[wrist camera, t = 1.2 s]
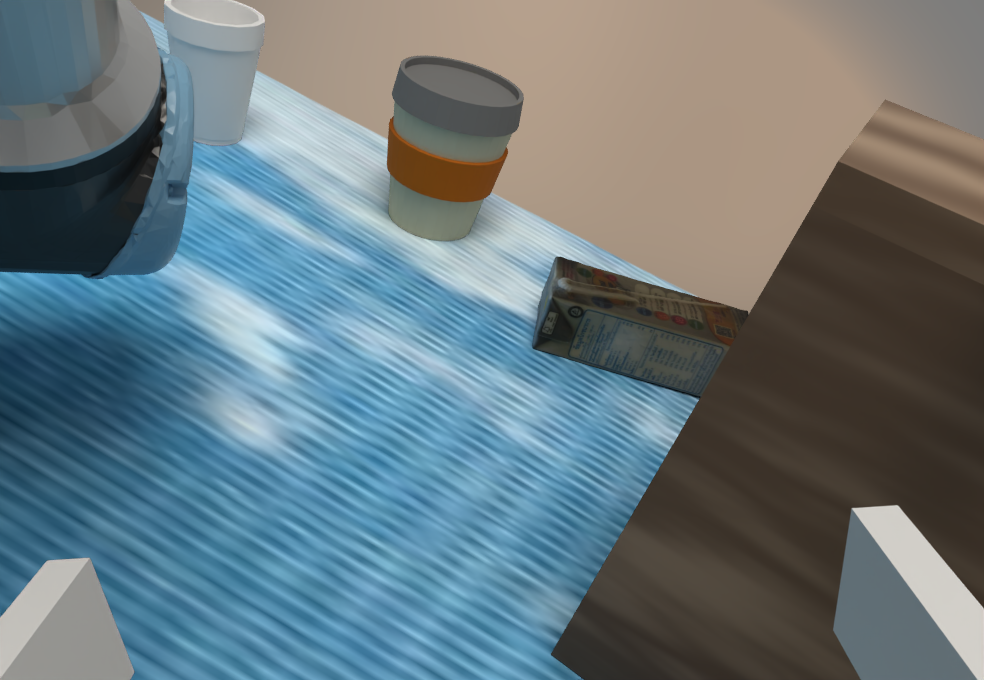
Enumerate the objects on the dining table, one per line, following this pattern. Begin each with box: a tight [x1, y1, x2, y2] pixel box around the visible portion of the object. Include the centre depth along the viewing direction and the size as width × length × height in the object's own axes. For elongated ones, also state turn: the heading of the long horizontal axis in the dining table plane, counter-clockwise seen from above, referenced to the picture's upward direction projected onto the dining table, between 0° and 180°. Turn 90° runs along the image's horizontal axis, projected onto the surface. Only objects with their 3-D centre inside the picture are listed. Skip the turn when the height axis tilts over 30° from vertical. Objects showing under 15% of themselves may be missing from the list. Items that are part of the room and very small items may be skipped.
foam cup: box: [164, 0, 265, 146], centre depth 75 cm, size 10×9×13 cm
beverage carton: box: [533, 257, 749, 397], centre depth 65 cm, size 8×19×7 cm, turn 82°
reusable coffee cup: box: [387, 56, 524, 241], centre depth 72 cm, size 13×13×15 cm
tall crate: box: [551, 100, 984, 680], centre depth 34 cm, size 14×16×30 cm
